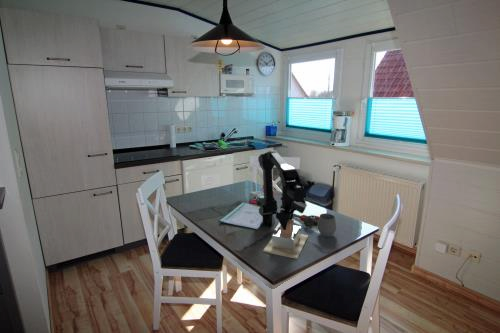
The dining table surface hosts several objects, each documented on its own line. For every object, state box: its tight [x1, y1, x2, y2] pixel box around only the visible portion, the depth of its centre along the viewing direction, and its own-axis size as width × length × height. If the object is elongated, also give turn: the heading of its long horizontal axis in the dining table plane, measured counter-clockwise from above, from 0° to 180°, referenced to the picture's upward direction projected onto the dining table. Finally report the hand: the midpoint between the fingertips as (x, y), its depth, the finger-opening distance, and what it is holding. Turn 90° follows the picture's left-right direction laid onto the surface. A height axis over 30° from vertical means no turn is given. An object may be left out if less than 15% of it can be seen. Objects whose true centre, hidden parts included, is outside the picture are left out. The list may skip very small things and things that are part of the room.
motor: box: [271, 222, 302, 251], centre depth 143 cm, size 17×10×8 cm, turn 157°
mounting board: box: [262, 233, 309, 260], centre depth 143 cm, size 22×16×1 cm
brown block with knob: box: [280, 219, 295, 234], centre depth 140 cm, size 5×5×7 cm
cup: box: [316, 213, 337, 238], centre depth 150 cm, size 10×9×10 cm
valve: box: [292, 213, 320, 229], centre depth 168 cm, size 6×26×15 cm
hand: (287, 225), depth 140 cm, fingers open, 9 cm apart
